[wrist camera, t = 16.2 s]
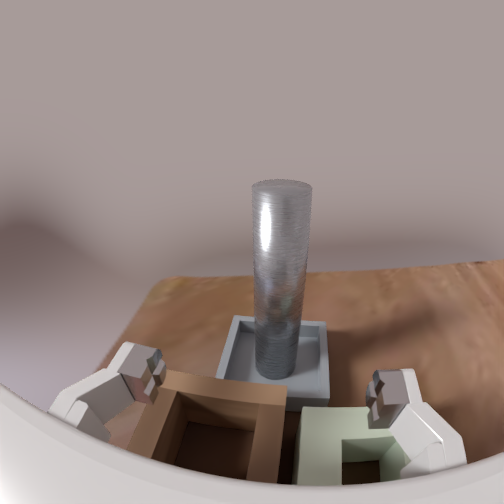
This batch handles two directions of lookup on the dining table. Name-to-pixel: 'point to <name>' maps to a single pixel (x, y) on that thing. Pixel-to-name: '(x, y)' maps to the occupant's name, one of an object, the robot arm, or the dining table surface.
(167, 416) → the brown wooden square frame
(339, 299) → the dining table surface
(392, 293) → the dining table surface
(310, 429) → the sage block
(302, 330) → the tray
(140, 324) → the dining table surface
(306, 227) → the cylinder
